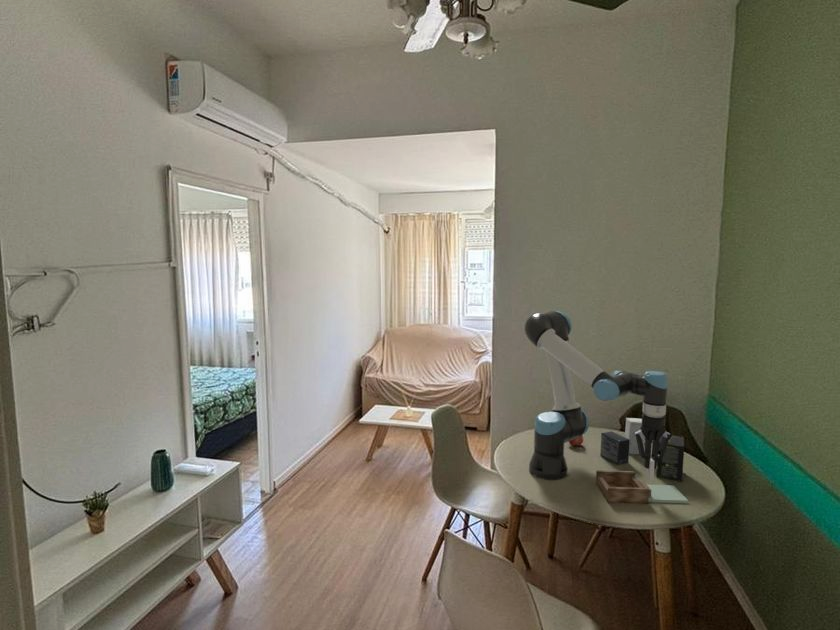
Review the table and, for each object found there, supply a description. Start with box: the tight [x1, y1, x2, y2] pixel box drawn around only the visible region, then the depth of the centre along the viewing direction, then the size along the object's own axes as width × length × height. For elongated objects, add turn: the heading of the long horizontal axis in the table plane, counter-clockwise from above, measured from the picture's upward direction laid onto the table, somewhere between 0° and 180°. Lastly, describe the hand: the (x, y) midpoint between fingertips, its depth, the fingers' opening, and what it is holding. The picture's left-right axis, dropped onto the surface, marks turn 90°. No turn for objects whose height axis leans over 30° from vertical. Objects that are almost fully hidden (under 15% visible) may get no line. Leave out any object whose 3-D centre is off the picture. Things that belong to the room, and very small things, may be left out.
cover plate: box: [638, 480, 689, 504], centre depth 175 cm, size 14×11×4 cm
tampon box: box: [655, 434, 685, 482], centre depth 191 cm, size 11×9×15 cm
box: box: [595, 469, 650, 505], centre depth 176 cm, size 14×14×6 cm
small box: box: [599, 431, 630, 466], centre depth 205 cm, size 11×6×10 cm, turn 22°
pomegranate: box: [568, 435, 584, 447], centre depth 220 cm, size 7×7×10 cm
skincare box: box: [624, 417, 645, 455], centre depth 212 cm, size 8×6×15 cm
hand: (649, 476), depth 175 cm, fingers closed
